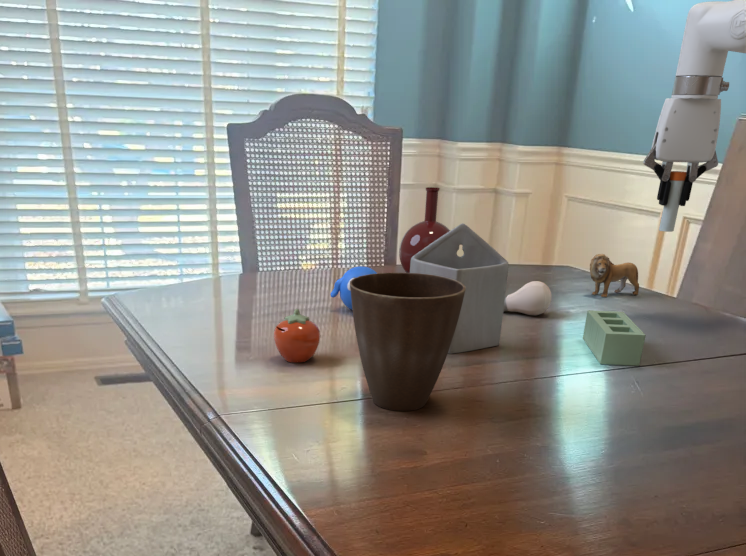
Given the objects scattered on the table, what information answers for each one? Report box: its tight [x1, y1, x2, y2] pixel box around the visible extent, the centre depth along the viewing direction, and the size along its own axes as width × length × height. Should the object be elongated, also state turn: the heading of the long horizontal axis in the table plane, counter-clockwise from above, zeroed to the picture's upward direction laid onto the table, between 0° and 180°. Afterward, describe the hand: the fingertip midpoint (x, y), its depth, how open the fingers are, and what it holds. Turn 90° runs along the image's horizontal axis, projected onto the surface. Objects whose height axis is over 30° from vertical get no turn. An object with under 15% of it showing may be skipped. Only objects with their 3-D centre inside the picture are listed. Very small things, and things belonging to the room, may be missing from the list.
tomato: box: [273, 308, 321, 364], centre depth 122 cm, size 7×7×8 cm
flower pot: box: [350, 272, 466, 412], centre depth 103 cm, size 15×15×16 cm
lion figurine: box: [589, 253, 640, 298], centre depth 169 cm, size 15×5×9 cm, turn 117°
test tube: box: [658, 170, 687, 233], centre depth 141 cm, size 3×3×10 cm
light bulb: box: [503, 280, 553, 316], centre depth 153 cm, size 7×7×11 cm
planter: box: [410, 223, 510, 355], centre depth 127 cm, size 16×8×19 cm, turn 80°
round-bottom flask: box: [398, 186, 451, 273], centre depth 174 cm, size 13×13×20 cm
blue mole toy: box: [330, 265, 378, 311], centre depth 150 cm, size 12×12×8 cm
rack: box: [582, 309, 647, 367], centre depth 130 cm, size 16×6×5 cm, turn 175°
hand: (671, 204), depth 142 cm, fingers closed on test tube, 2 cm apart
